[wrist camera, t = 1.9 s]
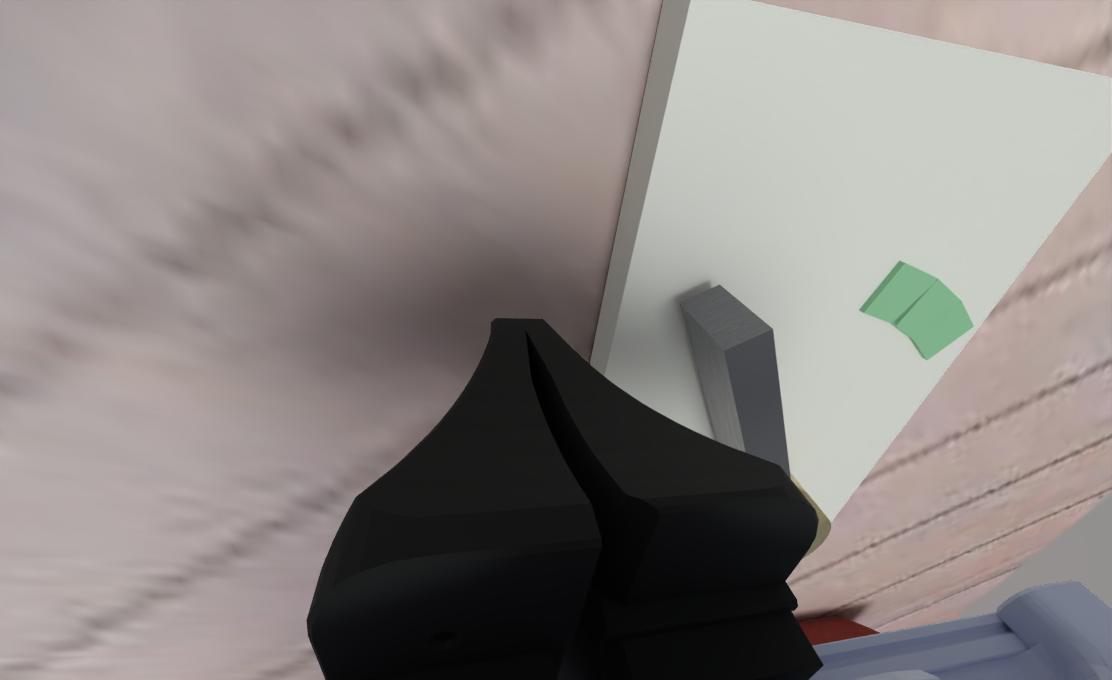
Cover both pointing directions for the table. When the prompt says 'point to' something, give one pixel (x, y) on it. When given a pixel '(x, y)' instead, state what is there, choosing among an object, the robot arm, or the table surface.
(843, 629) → the plant saucer
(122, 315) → the table surface
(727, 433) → the dial lever
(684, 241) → the dial board
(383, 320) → the table surface
